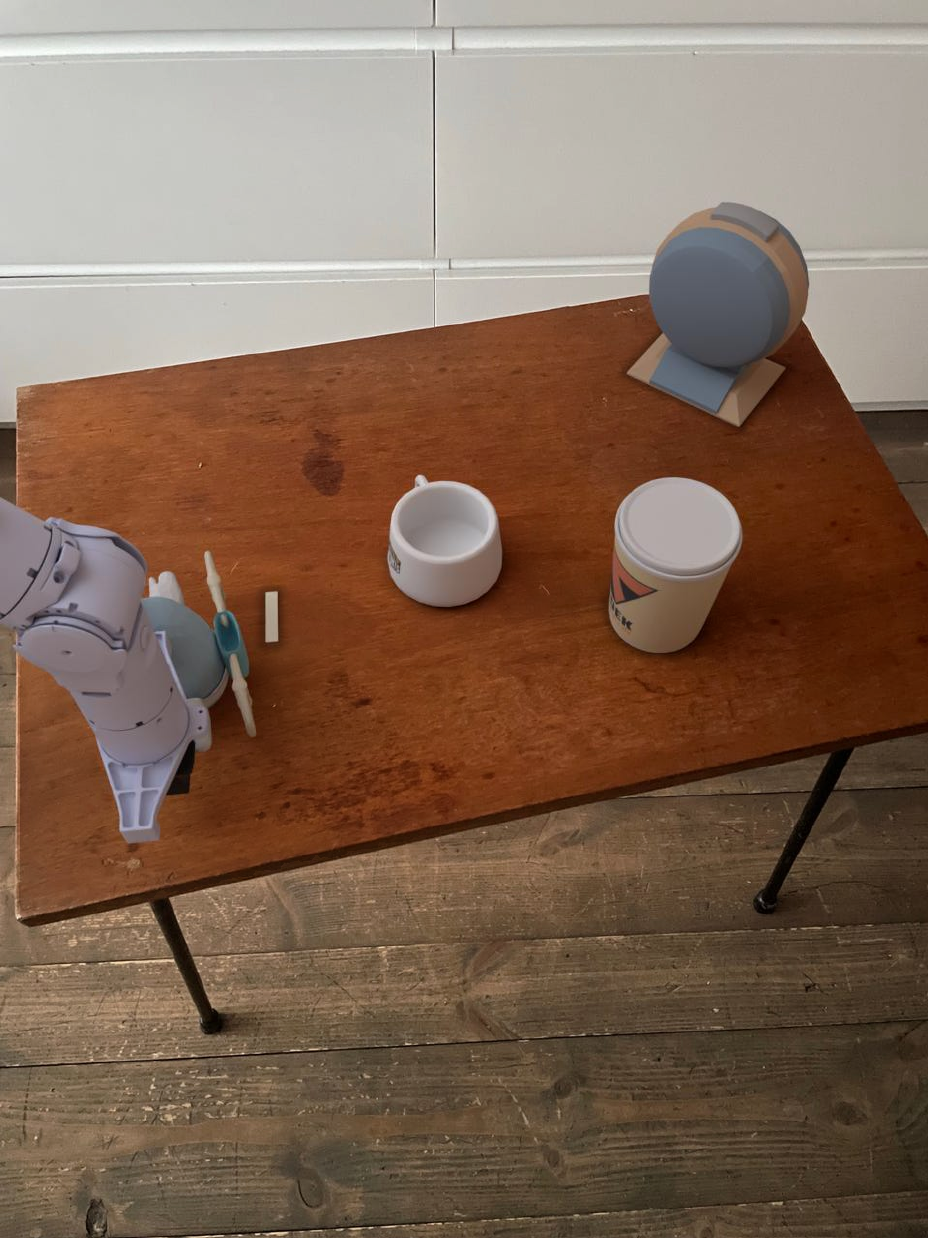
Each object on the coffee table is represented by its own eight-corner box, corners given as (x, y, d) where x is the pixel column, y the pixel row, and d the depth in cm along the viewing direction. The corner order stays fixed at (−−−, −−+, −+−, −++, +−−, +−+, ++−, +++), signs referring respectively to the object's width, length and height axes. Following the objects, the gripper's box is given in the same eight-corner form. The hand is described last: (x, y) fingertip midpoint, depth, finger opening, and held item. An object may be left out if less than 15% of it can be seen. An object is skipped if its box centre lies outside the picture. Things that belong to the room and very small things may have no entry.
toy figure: (105, 626, 86) (47, 505, 74) (232, 594, 88) (196, 471, 76) (135, 806, 77) (74, 702, 65) (276, 765, 79) (243, 657, 67)
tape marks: (99, 657, 85) (99, 656, 85) (104, 606, 88) (104, 605, 87) (278, 641, 86) (278, 641, 86) (277, 592, 88) (277, 591, 88)
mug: (518, 593, 88) (522, 548, 84) (408, 625, 87) (405, 581, 82) (470, 490, 95) (471, 443, 90) (366, 518, 93) (361, 471, 88)
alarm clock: (794, 373, 104) (849, 214, 89) (748, 431, 99) (798, 274, 85) (666, 316, 108) (699, 156, 94) (617, 369, 104) (643, 210, 89)
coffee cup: (588, 575, 90) (604, 479, 80) (696, 564, 90) (726, 468, 80) (610, 668, 84) (631, 578, 74) (725, 656, 85) (760, 565, 75)
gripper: (187, 792, 61) (229, 879, 72) (197, 588, 69) (233, 694, 80) (61, 804, 60) (123, 889, 71) (86, 597, 68) (138, 703, 80)
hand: (175, 787), depth 76 cm, fingers closed
